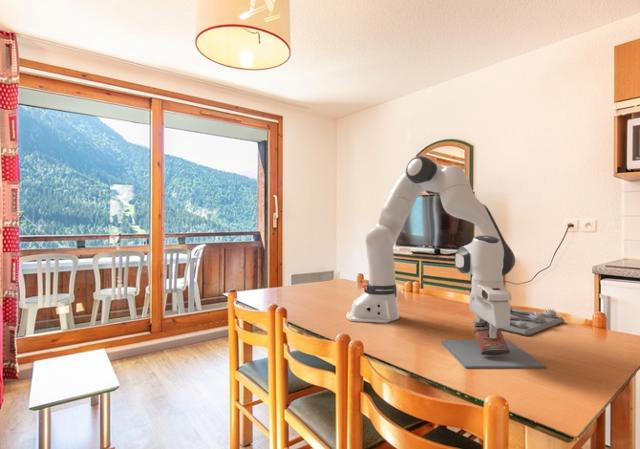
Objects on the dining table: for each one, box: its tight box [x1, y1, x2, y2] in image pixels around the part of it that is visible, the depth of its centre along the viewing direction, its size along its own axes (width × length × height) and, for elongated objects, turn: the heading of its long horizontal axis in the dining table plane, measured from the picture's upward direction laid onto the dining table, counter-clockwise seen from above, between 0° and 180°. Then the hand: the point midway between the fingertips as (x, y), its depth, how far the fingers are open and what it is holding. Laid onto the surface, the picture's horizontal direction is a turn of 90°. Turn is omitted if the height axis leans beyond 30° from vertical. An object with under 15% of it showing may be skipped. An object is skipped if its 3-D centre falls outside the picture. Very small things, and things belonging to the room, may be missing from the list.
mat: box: [440, 339, 547, 369], centre depth 110 cm, size 22×22×1 cm
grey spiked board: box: [472, 304, 566, 337], centre depth 142 cm, size 30×22×7 cm
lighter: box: [473, 321, 510, 355], centre depth 108 cm, size 8×3×10 cm
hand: (487, 334), depth 110 cm, fingers open, 5 cm apart
